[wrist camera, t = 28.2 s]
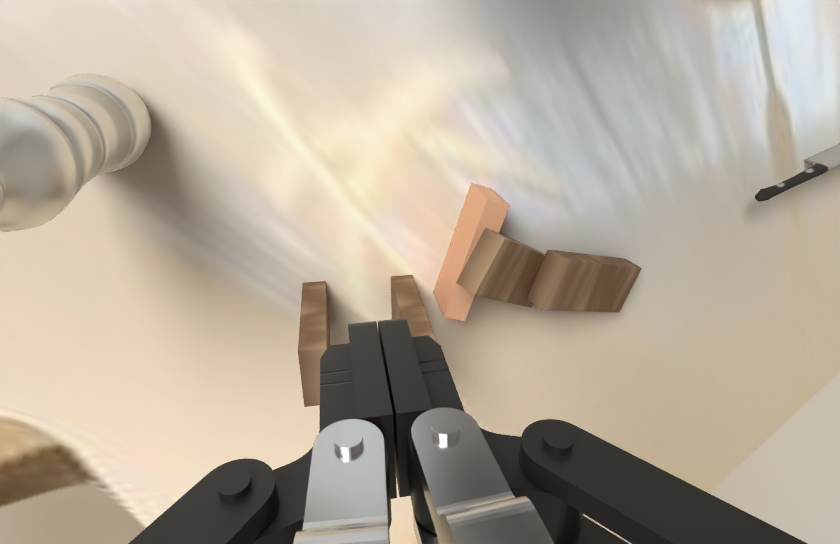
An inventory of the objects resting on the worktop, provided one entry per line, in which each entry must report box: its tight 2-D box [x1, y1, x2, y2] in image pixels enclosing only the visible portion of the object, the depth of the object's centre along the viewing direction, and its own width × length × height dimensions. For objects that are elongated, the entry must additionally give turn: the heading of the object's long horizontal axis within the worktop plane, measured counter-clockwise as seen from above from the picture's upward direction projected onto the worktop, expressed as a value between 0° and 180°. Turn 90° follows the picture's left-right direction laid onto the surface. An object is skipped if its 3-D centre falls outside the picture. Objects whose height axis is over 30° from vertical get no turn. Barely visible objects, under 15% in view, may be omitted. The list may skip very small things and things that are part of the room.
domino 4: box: [456, 227, 545, 307], centre depth 44 cm, size 2×5×11 cm
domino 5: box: [527, 250, 641, 312], centre depth 48 cm, size 2×5×11 cm
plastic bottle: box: [0, 74, 151, 232], centre depth 29 cm, size 6×7×20 cm
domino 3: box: [433, 183, 510, 321], centre depth 45 cm, size 2×5×11 cm
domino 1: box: [298, 281, 330, 407], centre depth 42 cm, size 2×5×11 cm, turn 0°
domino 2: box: [391, 275, 436, 342], centre depth 44 cm, size 2×5×11 cm, turn 0°
